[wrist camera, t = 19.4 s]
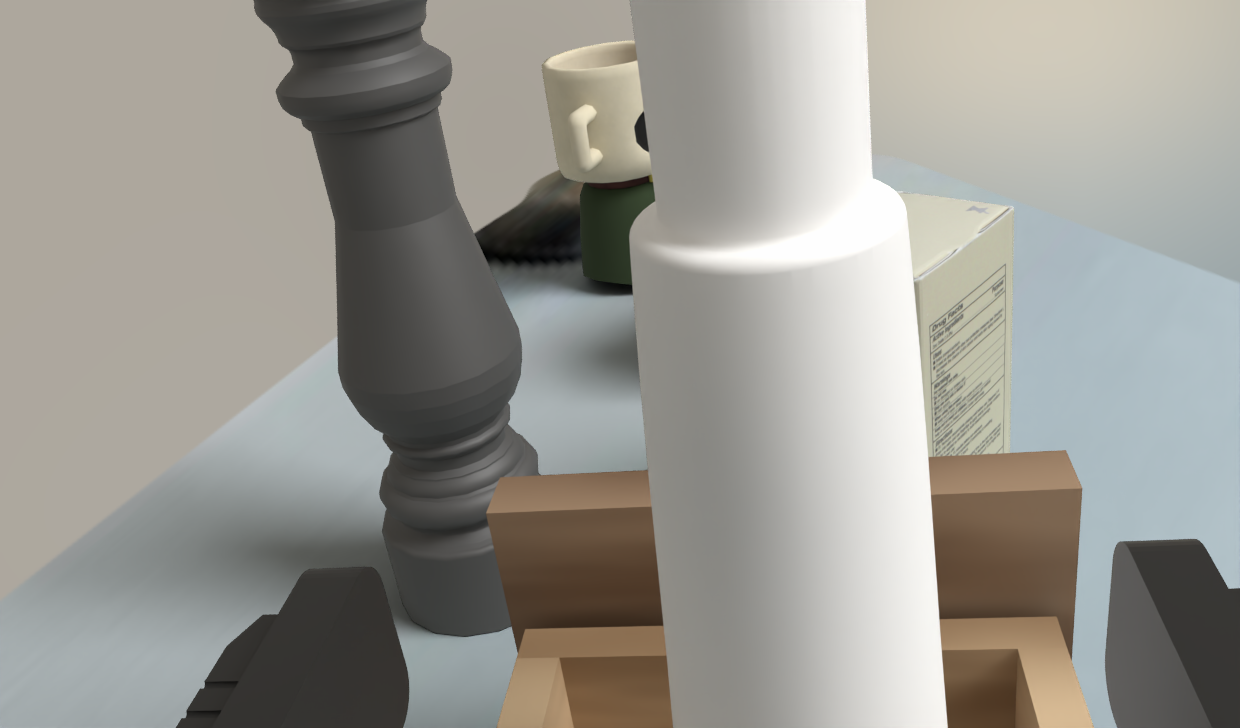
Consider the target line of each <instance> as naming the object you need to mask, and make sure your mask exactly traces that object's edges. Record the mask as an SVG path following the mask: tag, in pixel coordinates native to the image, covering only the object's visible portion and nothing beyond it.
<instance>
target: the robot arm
mask: <svg viewBox="0 0 1240 728" xmlns="http://www.w3.org/2000/svg"><path fill="white" fill-rule="evenodd" d="M1105 671H1106V683H1107V690H1108V696H1109V701H1110V705H1111V710H1112V713H1113V717H1114V720H1115V723H1116V725H1117V728H1240V588H1238V589H1228V587H1227V585H1226V583H1225V582H1224V580H1223V578H1222V576H1221V575H1220V573H1219V571H1218V569H1217V568H1216V566H1215V564H1214V562H1213V560H1212V559H1211V557H1210V555H1209V553H1208V552H1207V550H1206V548H1205V547H1204V545H1203V544H1202V543H1201V542H1200V541H1199V540H1197V539H1179V540H1151V541H1123V542H1119V543H1118V544H1117V545H1116V547H1115V550H1114V555H1113V564H1112V577H1111V589H1110V602H1109V614H1108V627H1107V639H1106V652H1105ZM408 702H409V679H408V671H407V667H406V663H405V659H404V656H403V652H402V649H401V645H400V642H399V639H398V635H397V632H396V628H395V625H394V621H393V618H392V614H391V611H390V607H389V604H388V600H387V597H386V593H385V590H384V586H383V583H382V580H381V578H380V576H379V574H378V572H377V571H376V570H375V569H374V568H372V567H351V568H323V569H309V570H307V571H305V572H304V573H303V574H302V575H301V577H300V578H299V580H298V581H297V583H296V585H295V587H294V588H293V590H292V592H291V593H290V595H289V597H288V598H287V600H286V602H285V604H284V605H283V607H282V609H281V610H280V612H279V614H273V615H262V616H261V617H260V618H259V619H257V620H256V621H255V622H254V623H253V624H252V625H251V626H249V627H248V628H247V629H246V630H245V631H244V632H243V633H241V634H240V635H239V636H238V637H237V638H236V639H234V640H233V641H232V642H231V643H230V644H229V645H228V646H227V647H226V648H225V650H224V651H223V653H222V655H221V656H220V658H219V659H218V661H217V663H216V664H215V666H214V667H213V669H212V671H211V672H210V674H209V675H208V677H207V679H206V680H205V687H204V689H200V690H199V691H198V693H197V695H196V696H195V698H194V699H193V701H192V703H191V704H190V706H189V707H188V709H187V716H186V718H182V719H181V720H180V722H179V723H178V725H177V727H176V728H403V726H404V723H405V720H406V715H407V710H408Z"/></svg>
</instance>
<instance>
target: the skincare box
mask: <svg viewBox="0 0 1240 728" xmlns="http://www.w3.org/2000/svg"><path fill="white" fill-rule="evenodd" d="M897 193H898V194H899V195H900V197H901V199H902V200H903V202H904V204H905V206H906V211H907V219H908V229H909V238H910V249H911V260H912V271H913V281H914V292H915V303H916V313H917V324H918V335H919V346H920V358H921V371H922V383H923V396H924V409H925V422H926V435H927V448H928V457H937V456H958V455H979V454H1000V453H1010V411H1011V352H1012V299H1013V238H1014V208H1013V207H1012V206H1007V205H997V204H988V203H982V202H975V201H968V200H961V199H954V198H946V197H939V196H932V195H925V194H916V193H908V192H901V191H899V192H897Z"/></svg>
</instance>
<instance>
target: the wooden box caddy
mask: <svg viewBox="0 0 1240 728" xmlns="http://www.w3.org/2000/svg"><path fill="white" fill-rule="evenodd" d="M928 461H929V475H930V490H931V505H932V519H933V534H934V548H935V563H936V578H937V592H938V607H939V621H940V636H941V649H942V662H943V674H944V687H945V700H946V713H947V725H948V728H1094V726H1093V723H1092V720H1091V717H1090V714H1089V711H1088V708H1087V705H1086V702H1085V700H1084V697H1083V694H1082V691H1081V688H1080V685H1079V682H1078V679H1077V676H1076V673H1075V670H1074V667H1073V664H1072V645H1073V629H1074V613H1075V597H1076V581H1077V565H1078V549H1079V532H1080V516H1081V500H1082V487H1081V484H1080V482H1079V480H1078V477H1077V475H1076V473H1075V470H1074V468H1073V466H1072V463H1071V461H1070V459H1069V457H1068V454H1067V452H1066V450H1063V451H1042V452H1021V453H1000V454H979V455H958V456H937V457H928ZM486 516H487V520H488V524H489V529H490V533H491V538H492V542H493V546H494V551H495V555H496V560H497V564H498V568H499V573H500V577H501V581H502V586H503V590H504V595H505V599H506V603H507V608H508V612H509V616H510V621H511V625H512V630H513V634H514V638H515V643H516V647H517V652H518V656H517V659H516V663H515V666H514V669H513V673H512V676H511V680H510V683H509V687H508V690H507V693H506V697H505V700H504V704H503V707H502V711H501V714H500V717H499V721H498V724H497V728H673V721H672V710H671V699H670V688H669V677H668V666H667V655H666V645H665V635H664V625H663V615H662V605H661V595H660V586H659V576H658V566H657V556H656V546H655V536H654V526H653V516H652V506H651V496H650V486H649V476H648V470H644V471H623V472H602V473H581V474H560V475H539V476H518V477H500V479H499V481H498V484H497V487H496V489H495V492H494V494H493V497H492V499H491V502H490V504H489V507H488V510H487V512H486Z"/></svg>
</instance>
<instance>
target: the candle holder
mask: <svg viewBox="0 0 1240 728" xmlns="http://www.w3.org/2000/svg"><path fill="white" fill-rule="evenodd" d="M426 2H427V0H254V9H255V12H256V14H257V16H258V17H259V18H260V19H261V20H262V21H263V22H264V23H265V24H266V25H268V26H269V27H270V28H271V29H272V30H273V32H274V33H275V35H276V37H277V39H278V42H279V44H280V45H281V46H282V47H284V48H286V49H288V50H289V51H290V53H291V55H292V60H293V63H294V65H293V67H292V68H291V70H290V72H289V73H288V74H287V75H286V76H285V78H284V79H283V80H282V81H281V83H280V84H279V86H278V88H277V89H276V94H277V98H278V101H279V103H280V105H281V107H282V108H283V109H284V110H285V111H286V112H288V113H289V114H290V115H292V116H294V117H296V118H299V119H301V121H302V124H303V126H304V127H305V128H306V129H308V130H309V131H311V133H312V137H313V141H314V145H315V148H316V152H317V156H318V160H319V163H320V167H321V171H322V174H323V179H324V182H325V186H326V190H327V194H328V197H329V201H330V205H331V209H332V212H333V216H334V220H335V238H336V239H335V240H336V281H337V319H338V320H337V325H338V373H339V376H340V380H341V383H342V387H343V389H344V391H345V392H346V394H347V396H348V397H349V399H350V400H351V402H352V403H353V405H354V406H355V408H356V409H357V411H358V412H359V414H360V415H361V416H362V417H363V418H364V419H365V420H366V421H367V422H368V423H369V424H370V425H371V426H372V427H373V428H374V429H376V430H378V431H380V432H382V433H383V440H384V442H385V443H386V444H387V446H388V447H389V449H390V450H391V451H392V452H393V453H392V454H391V457H390V461H389V465H388V467H387V468H386V469H385V470H384V472H383V476H382V481H381V486H380V491H379V495H380V499H381V501H382V502H383V504H384V505H385V507H386V509H387V510H386V513H385V518H384V524H383V529H382V533H383V536H384V540H385V543H386V547H387V550H388V554H389V557H390V561H391V564H392V568H393V571H394V575H395V579H396V582H397V586H398V589H399V593H400V596H401V600H402V603H403V605H404V607H405V609H406V611H407V612H408V614H409V616H410V618H411V619H412V621H413V622H415V623H417V624H419V625H421V626H422V627H424V628H426V629H428V630H430V631H432V632H434V633H439V634H448V635H457V636H471V635H477V634H483V633H490V632H496V631H500V630H503V629H505V628H507V627H510V626H512V625H511V621H510V616H509V612H508V608H507V603H506V599H505V595H504V590H503V586H502V581H501V577H500V573H499V568H498V564H497V560H496V555H495V551H494V546H493V542H492V538H491V533H490V529H489V524H488V520H487V516H486V512H487V510H488V507H489V504H490V502H491V499H492V497H493V494H494V492H495V489H496V487H497V484H498V481H499V479H500V477H518V476H539V475H540V474H539V473H538V455H537V452H536V450H535V449H534V448H533V447H532V446H531V445H530V444H529V443H528V442H527V441H526V440H525V439H524V437H523V436H521V435H520V434H518V433H516V432H515V431H514V430H513V429H512V428H511V427H510V426H509V425H508V422H509V420H510V405H509V404H508V402H509V400H510V399H511V397H512V396H513V395H514V392H515V390H516V387H517V384H518V381H519V378H520V375H521V363H522V344H521V338H520V333H519V328H518V326H517V324H516V322H515V320H514V318H513V316H512V313H511V311H510V309H509V307H508V305H507V303H506V301H505V299H504V297H503V295H502V292H501V290H500V288H499V286H498V284H497V282H496V280H495V278H494V276H493V274H492V271H491V269H490V267H489V265H488V263H487V261H486V258H485V256H484V254H483V252H482V250H481V248H480V246H479V243H478V241H477V239H476V237H475V235H474V233H473V231H472V229H471V226H470V224H469V222H468V220H467V218H466V216H465V213H464V211H463V209H462V207H461V205H460V203H459V201H458V199H457V196H456V192H455V188H454V183H453V178H452V174H451V169H450V164H449V159H448V154H447V150H446V145H445V140H444V135H443V131H442V126H441V122H440V116H439V112H438V106H439V105H440V103H441V100H442V96H441V91H443V90H444V89H445V88H446V87H447V86H448V85H449V84H450V81H451V76H452V64H451V59H450V57H449V56H448V55H446V54H445V53H443V52H442V51H440V50H439V49H437V48H435V47H433V46H431V45H429V44H427V43H426V42H425V41H424V40H423V38H422V34H421V26H422V25H423V23H424V21H425V18H426Z"/></svg>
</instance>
